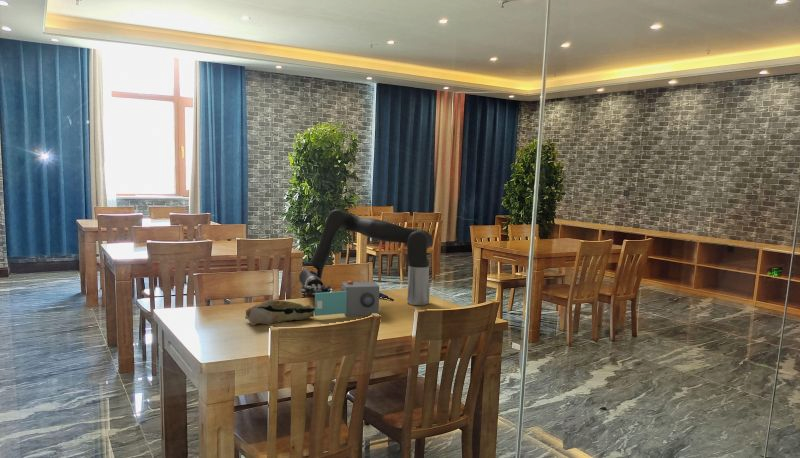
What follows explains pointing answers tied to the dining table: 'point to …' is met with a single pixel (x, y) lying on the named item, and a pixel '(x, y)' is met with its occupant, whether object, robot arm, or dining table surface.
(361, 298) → the camera box
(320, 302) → the door
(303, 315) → the mineral
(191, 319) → the dining table surface
